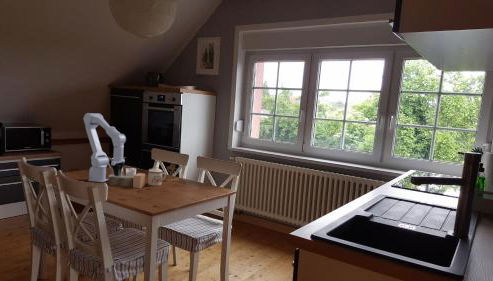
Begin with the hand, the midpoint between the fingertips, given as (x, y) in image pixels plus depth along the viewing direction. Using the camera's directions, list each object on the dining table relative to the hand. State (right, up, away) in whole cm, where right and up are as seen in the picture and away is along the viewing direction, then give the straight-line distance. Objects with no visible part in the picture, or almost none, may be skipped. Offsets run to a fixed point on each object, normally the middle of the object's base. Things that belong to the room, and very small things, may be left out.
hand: (117, 174), depth 218 cm
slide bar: (+2, -4, 0) cm, 4 cm away
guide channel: (+3, -6, 0) cm, 7 cm away
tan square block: (+14, -7, 0) cm, 16 cm away
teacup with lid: (+22, -7, +10) cm, 25 cm away
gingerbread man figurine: (+29, -7, +24) cm, 38 cm away
